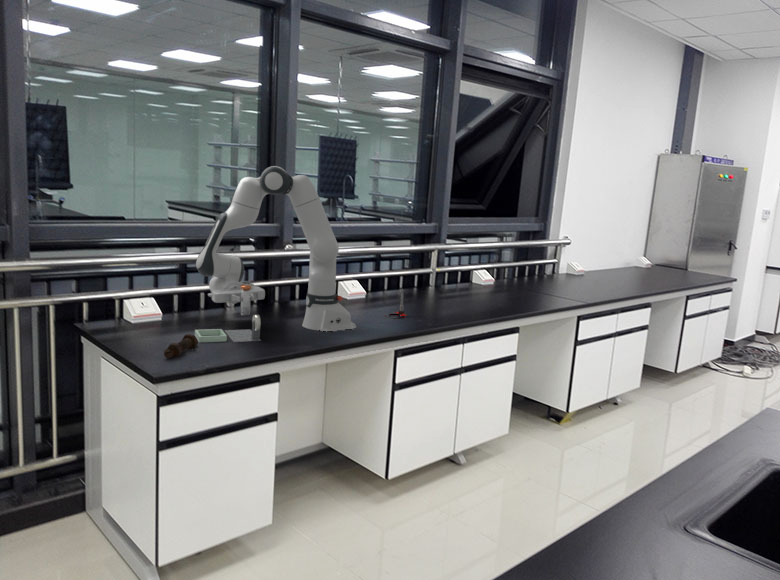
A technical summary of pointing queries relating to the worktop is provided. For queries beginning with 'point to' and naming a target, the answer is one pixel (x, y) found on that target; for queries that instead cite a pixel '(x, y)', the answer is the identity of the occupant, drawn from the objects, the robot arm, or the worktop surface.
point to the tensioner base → (247, 332)
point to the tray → (203, 338)
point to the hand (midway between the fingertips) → (246, 299)
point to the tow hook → (401, 306)
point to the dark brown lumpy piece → (181, 346)
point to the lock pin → (245, 299)
